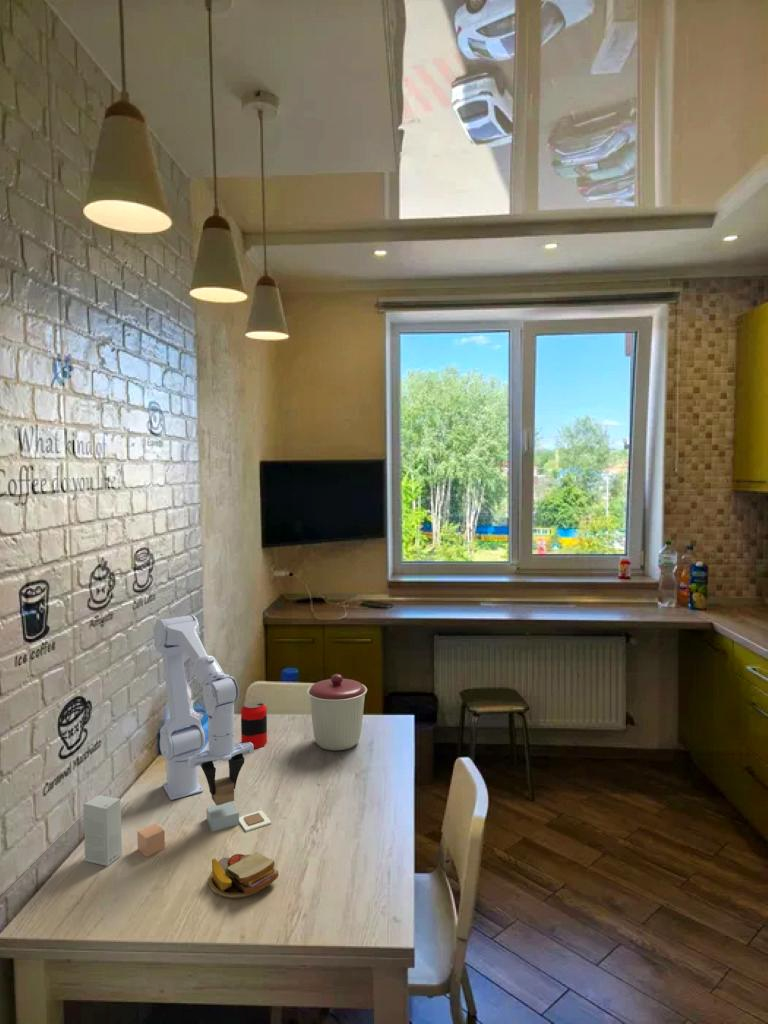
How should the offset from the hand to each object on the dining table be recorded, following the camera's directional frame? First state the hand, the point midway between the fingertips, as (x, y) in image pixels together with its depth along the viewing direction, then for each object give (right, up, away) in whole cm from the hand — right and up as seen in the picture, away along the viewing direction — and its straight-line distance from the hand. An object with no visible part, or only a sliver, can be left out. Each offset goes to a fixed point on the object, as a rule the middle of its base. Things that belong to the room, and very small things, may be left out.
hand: (222, 790), depth 135 cm
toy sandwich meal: (+10, -8, -20) cm, 24 cm away
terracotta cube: (-12, -8, -10) cm, 18 cm away
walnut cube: (0, -2, 0) cm, 2 cm away
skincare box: (-21, -8, -13) cm, 26 cm away
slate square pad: (0, -8, 0) cm, 8 cm away
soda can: (-2, -6, +43) cm, 43 cm away
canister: (+23, -6, +42) cm, 48 cm away
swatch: (+7, -7, 0) cm, 10 cm away
